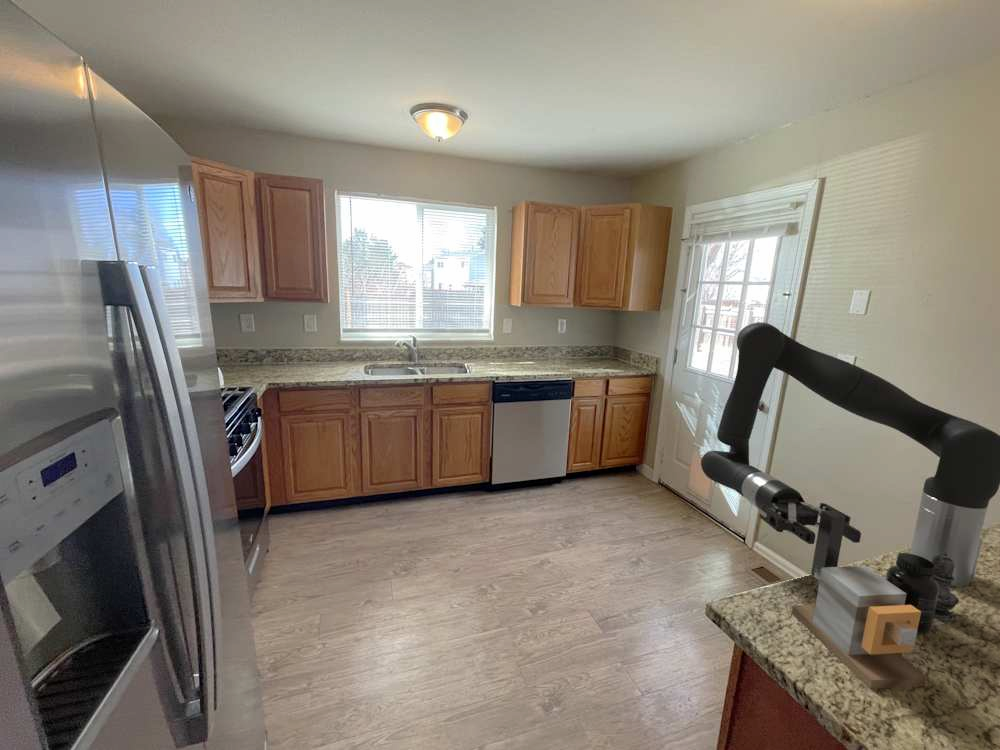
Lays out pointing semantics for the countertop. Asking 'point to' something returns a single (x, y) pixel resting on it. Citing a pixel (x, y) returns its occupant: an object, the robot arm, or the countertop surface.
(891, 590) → the stand
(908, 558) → the supplement bottle
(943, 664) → the countertop surface
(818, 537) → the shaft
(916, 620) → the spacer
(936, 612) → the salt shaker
